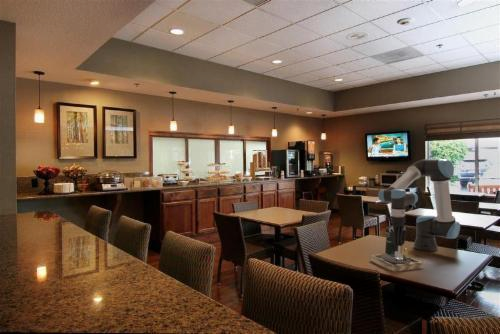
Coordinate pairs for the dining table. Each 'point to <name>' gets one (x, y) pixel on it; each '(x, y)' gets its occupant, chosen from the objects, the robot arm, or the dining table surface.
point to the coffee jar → (389, 242)
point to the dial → (397, 258)
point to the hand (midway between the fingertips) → (397, 256)
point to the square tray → (396, 267)
